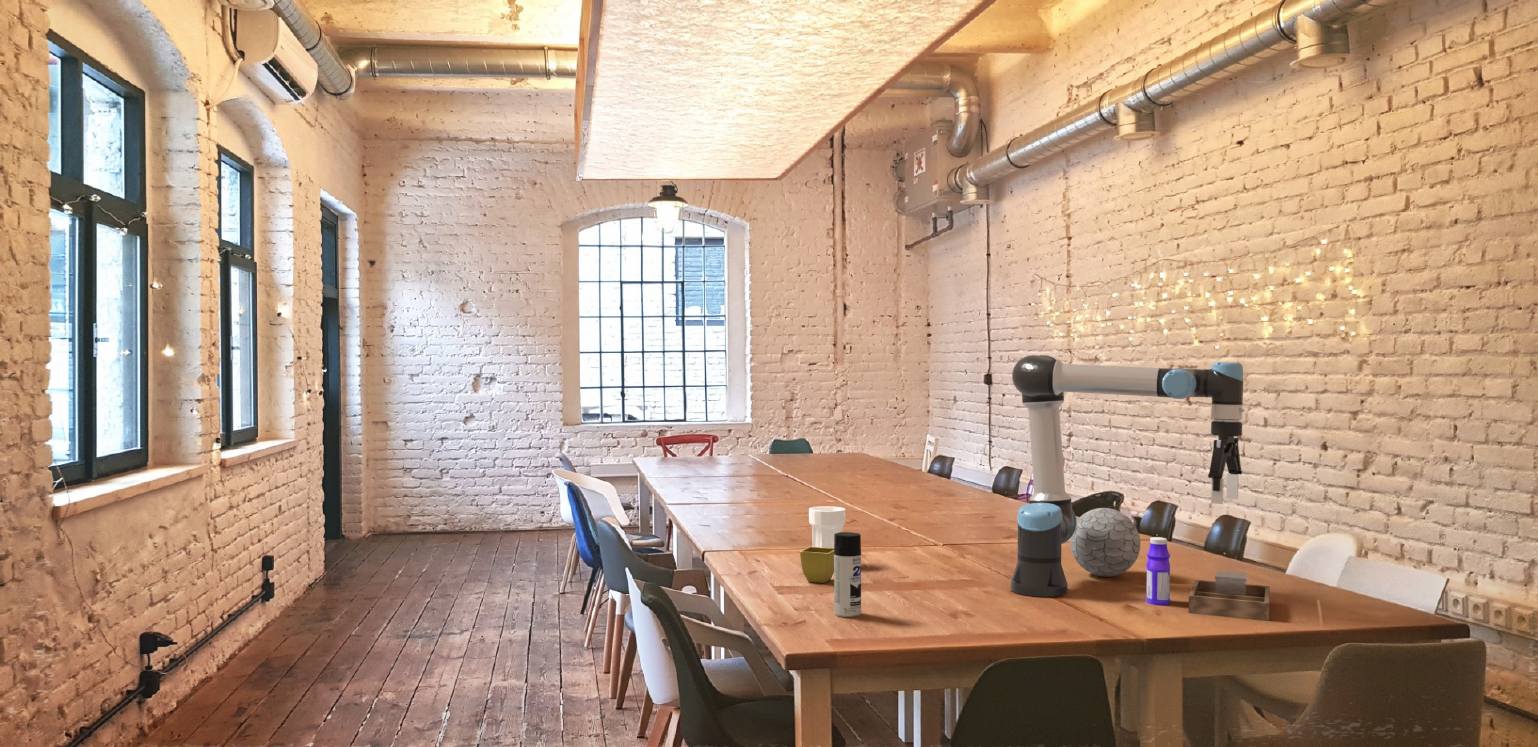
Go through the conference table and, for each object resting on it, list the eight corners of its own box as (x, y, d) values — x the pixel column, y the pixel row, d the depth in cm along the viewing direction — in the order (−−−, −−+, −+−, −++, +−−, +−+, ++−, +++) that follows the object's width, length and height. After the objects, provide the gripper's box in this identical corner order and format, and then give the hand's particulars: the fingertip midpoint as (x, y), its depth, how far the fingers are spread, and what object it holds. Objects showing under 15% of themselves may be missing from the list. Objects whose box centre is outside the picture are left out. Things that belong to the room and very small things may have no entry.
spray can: (853, 618, 259) (853, 536, 258) (828, 615, 262) (829, 534, 262) (865, 613, 264) (866, 533, 264) (841, 610, 268) (842, 530, 268)
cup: (846, 568, 321) (846, 511, 321) (808, 568, 322) (809, 511, 321) (844, 561, 333) (844, 506, 333) (808, 561, 333) (808, 506, 333)
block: (1214, 605, 272) (1214, 576, 272) (1216, 598, 280) (1216, 570, 280) (1246, 608, 269) (1246, 578, 269) (1246, 601, 277) (1247, 572, 277)
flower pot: (798, 582, 301) (799, 550, 301) (809, 577, 309) (809, 546, 309) (828, 585, 298) (828, 553, 298) (838, 579, 306) (838, 548, 306)
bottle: (1172, 608, 271) (1172, 540, 271) (1148, 607, 272) (1149, 539, 272) (1167, 602, 278) (1167, 536, 278) (1144, 601, 280) (1145, 535, 279)
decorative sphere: (1114, 585, 299) (1115, 514, 299) (1055, 574, 314) (1056, 507, 314) (1153, 577, 311) (1154, 509, 311) (1095, 566, 327) (1095, 501, 327)
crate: (1188, 615, 264) (1188, 595, 264) (1194, 598, 284) (1195, 579, 284) (1268, 623, 256) (1269, 603, 256) (1269, 605, 276) (1269, 586, 276)
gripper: (1227, 423, 269) (1225, 507, 269) (1254, 419, 288) (1252, 497, 289) (1197, 421, 273) (1195, 504, 274) (1225, 418, 293) (1223, 495, 293)
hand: (1224, 501), depth 281 cm, fingers open, 13 cm apart
